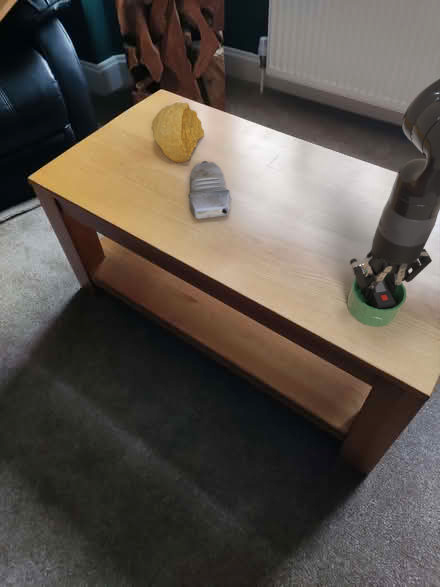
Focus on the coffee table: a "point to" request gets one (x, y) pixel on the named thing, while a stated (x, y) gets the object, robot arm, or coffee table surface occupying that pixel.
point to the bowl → (365, 310)
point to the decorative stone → (177, 131)
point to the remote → (382, 297)
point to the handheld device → (208, 191)
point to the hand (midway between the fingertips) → (376, 294)
